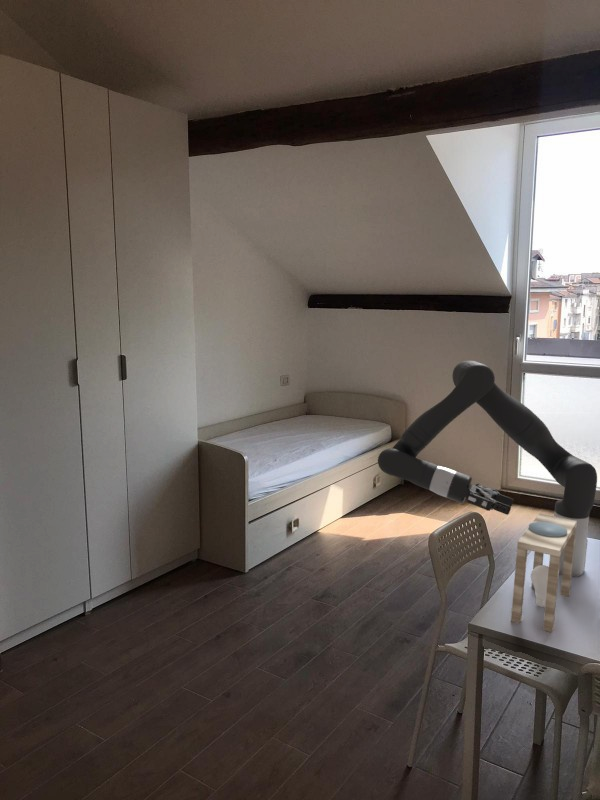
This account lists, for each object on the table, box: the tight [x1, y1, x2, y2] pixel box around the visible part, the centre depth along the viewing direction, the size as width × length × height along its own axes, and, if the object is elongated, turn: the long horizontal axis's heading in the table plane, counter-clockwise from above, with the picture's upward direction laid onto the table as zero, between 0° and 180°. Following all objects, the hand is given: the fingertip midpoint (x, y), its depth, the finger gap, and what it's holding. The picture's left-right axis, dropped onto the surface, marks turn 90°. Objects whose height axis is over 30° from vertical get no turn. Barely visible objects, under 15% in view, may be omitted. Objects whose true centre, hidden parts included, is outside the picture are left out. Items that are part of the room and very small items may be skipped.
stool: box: [510, 513, 577, 633], centre depth 164 cm, size 24×10×21 cm, turn 148°
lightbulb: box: [530, 564, 549, 608], centre depth 165 cm, size 6×6×11 cm
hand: (511, 506), depth 166 cm, fingers open, 8 cm apart
